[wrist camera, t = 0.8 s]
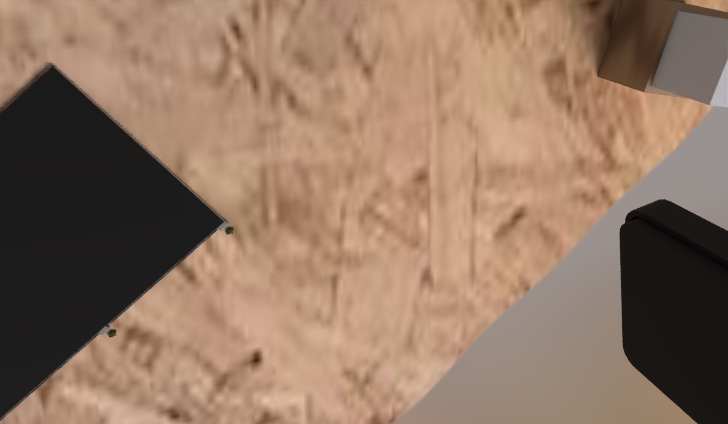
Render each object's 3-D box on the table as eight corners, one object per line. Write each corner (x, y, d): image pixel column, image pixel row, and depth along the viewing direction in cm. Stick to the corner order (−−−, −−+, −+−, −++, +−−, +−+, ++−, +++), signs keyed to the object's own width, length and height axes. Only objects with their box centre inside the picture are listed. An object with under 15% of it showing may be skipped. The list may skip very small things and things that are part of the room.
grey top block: (677, 11, 40) (742, 21, 36) (732, 22, 42) (799, 33, 37) (651, 86, 42) (709, 104, 37) (704, 93, 43) (765, 112, 39)
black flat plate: (-231, 321, 35) (-4, 436, 43) (-244, 334, 34) (-8, 450, 42) (56, 62, 35) (236, 226, 42) (53, 67, 33) (238, 234, 41)
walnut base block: (623, -7, 44) (676, 1, 39) (685, 6, 46) (741, 15, 42) (597, 76, 46) (644, 92, 42) (657, 85, 48) (707, 100, 44)
